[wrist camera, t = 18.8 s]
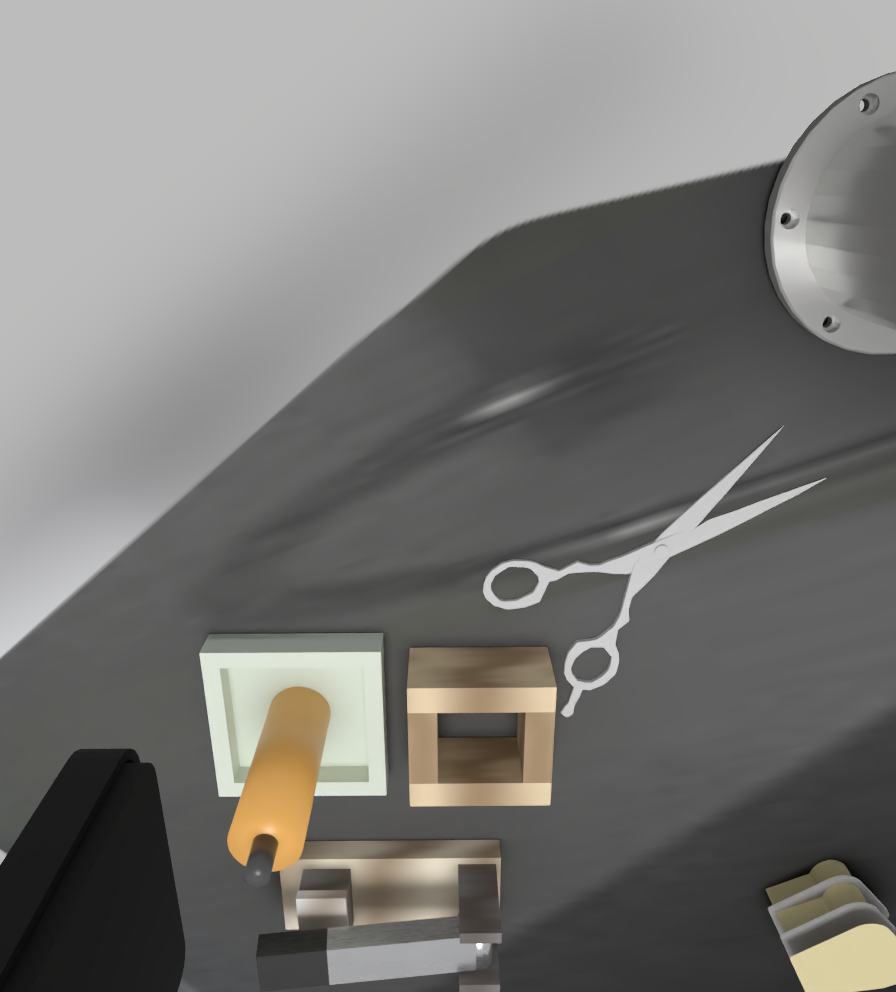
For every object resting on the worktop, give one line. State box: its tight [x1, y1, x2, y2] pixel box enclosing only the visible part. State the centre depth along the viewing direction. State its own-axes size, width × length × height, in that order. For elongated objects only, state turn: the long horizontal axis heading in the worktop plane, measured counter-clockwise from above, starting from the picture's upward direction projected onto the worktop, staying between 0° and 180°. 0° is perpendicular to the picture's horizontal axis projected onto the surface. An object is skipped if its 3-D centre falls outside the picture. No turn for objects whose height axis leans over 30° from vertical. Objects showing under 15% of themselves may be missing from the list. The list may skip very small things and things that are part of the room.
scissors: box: [483, 427, 826, 717], centre depth 45 cm, size 11×1×20 cm
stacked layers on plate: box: [765, 860, 896, 992], centre depth 52 cm, size 10×9×6 cm
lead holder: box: [407, 647, 557, 806], centre depth 46 cm, size 8×8×4 cm
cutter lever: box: [256, 916, 492, 992], centre depth 48 cm, size 14×3×2 cm, turn 90°
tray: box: [200, 633, 389, 797], centre depth 47 cm, size 10×10×2 cm
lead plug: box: [227, 687, 331, 887], centre depth 42 cm, size 4×4×12 cm
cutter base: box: [280, 840, 502, 992], centre depth 50 cm, size 14×6×6 cm, turn 90°
